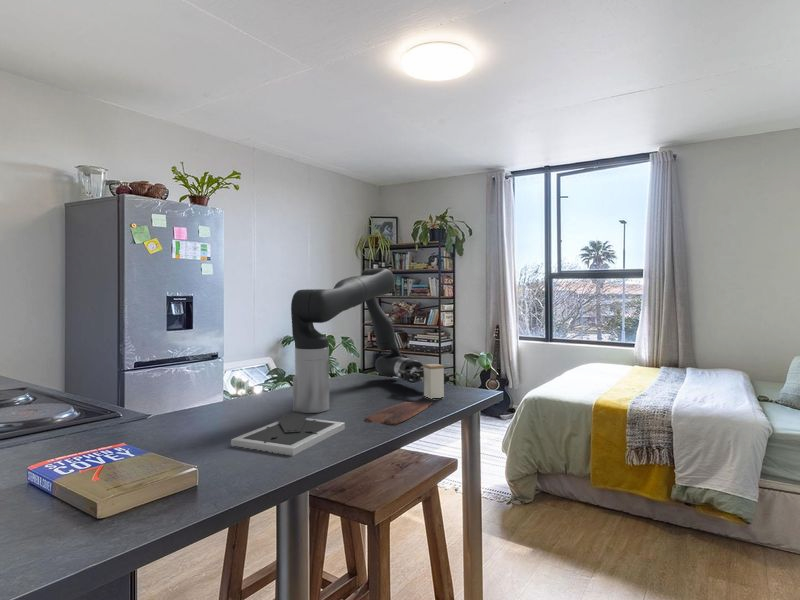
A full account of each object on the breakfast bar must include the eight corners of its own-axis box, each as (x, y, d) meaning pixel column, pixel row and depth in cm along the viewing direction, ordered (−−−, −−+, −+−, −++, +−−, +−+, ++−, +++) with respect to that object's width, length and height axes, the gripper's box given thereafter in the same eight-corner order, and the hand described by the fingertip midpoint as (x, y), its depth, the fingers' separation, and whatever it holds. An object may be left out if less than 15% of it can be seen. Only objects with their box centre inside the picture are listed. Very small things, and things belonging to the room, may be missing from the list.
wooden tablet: (407, 396, 146) (438, 396, 142) (408, 404, 146) (439, 403, 142) (361, 418, 123) (395, 417, 118) (362, 427, 123) (396, 427, 118)
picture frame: (290, 424, 122) (231, 449, 103) (290, 413, 122) (231, 435, 103) (344, 431, 116) (292, 459, 97) (344, 419, 116) (292, 444, 97)
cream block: (423, 396, 150) (423, 364, 150) (436, 395, 152) (436, 363, 152) (430, 399, 146) (430, 366, 146) (444, 398, 148) (444, 365, 148)
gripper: (389, 360, 162) (410, 366, 147) (427, 357, 168) (451, 363, 153) (389, 382, 162) (410, 391, 148) (427, 379, 168) (451, 387, 153)
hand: (431, 377), depth 151 cm, fingers open, 8 cm apart
